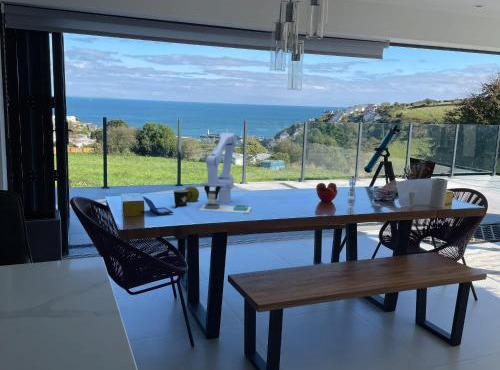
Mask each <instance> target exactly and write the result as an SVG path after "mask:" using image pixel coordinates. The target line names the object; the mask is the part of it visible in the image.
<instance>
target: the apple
mask: <svg viewBox="0 0 500 370" xmlns="http://www.w3.org/2000/svg"><path fill="white" fill-rule="evenodd" d="M184 190H188V192H192V197H191V193H188V197H187V200H188V199H189V198H190V197H191V198H190V199H189V200H188V201H187V203H194V202H195V203H196V202H198V199H199V197H200V191H199V189H198V188H197V187H196V186H187V187H185V188H184Z"/></svg>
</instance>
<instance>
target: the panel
mask: <svg viewBox="0 0 500 370" xmlns="http://www.w3.org/2000/svg"><path fill="white" fill-rule="evenodd" d="M252 209H253V208H252V207H251V206H249V205H247V204H235V205H221V203H216V204H208V202H207V203H206V204H203V205H202V206H201V207H200V208H199V209H198V210H199V211H214V212H227V213H228V212H229V213H231V212H232V213H243V215H249V214H250V212H252Z"/></svg>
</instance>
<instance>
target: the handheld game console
mask: <svg viewBox="0 0 500 370" xmlns="http://www.w3.org/2000/svg"><path fill="white" fill-rule="evenodd" d="M142 198H143V200H144V202H145V203H146V204H147V206H148V207H149V211H150V212H152V213H154V214H155V215H156V216H158V217H161V216H171V215H174V211H172V210H171V209H168V208H167V207H156V205H155V204H154V202H153V201H152V200H151V199H150V198H147V197H146V196H144V195H143V196H142Z"/></svg>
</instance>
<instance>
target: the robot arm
mask: <svg viewBox="0 0 500 370" xmlns="http://www.w3.org/2000/svg"><path fill="white" fill-rule="evenodd" d="M218 136H219V137H218V140H219V141H218V144H217V146H215V147H214V148H213V150H212V152H211V153H210V154H209V155H208V156H207V157H206V159H205V164H206V168H207V182H200V183H199V186H200V187H201V188H202V187H204V188H203V189H204V192H205V194H206V198H207V199H208V192H209V191H211V188H214V191H215V192H216V195H215V200H216V201H217V200H218V204H229V203H231V202H232V203H233V201H232V200H231V199H232V198H231V196H232V195H231V194H232V193H231V191H232V189H233V188H234V183H235V181H234V177H233V176H232V175H231V167H232V160H233V154H234V148H236V146H237V142H238V138H237V137H238V136H237V134H236V133H235V132H233V133H232V132H220V134H219V135H218ZM223 149H224V150H223ZM223 153H224V155H223ZM222 155H223V156H224V157H223V163H222V171H221V173H220V174H218V173H219V172H218V171H219V170H218V169H219V168H218V166H219V165H220V161H221V156H222Z"/></svg>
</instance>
